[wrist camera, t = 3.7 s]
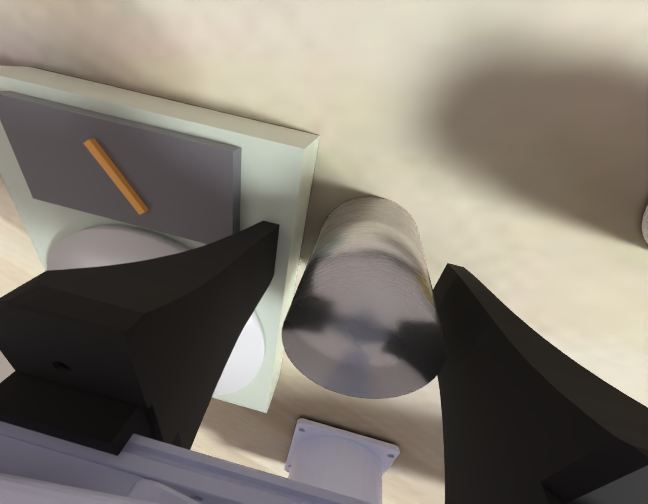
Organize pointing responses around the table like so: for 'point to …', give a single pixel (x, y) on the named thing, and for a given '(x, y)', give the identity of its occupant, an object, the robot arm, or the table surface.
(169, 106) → the scale
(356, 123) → the table surface
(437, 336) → the cylinder
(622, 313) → the table surface
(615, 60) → the table surface
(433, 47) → the table surface
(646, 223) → the supplement bottle
